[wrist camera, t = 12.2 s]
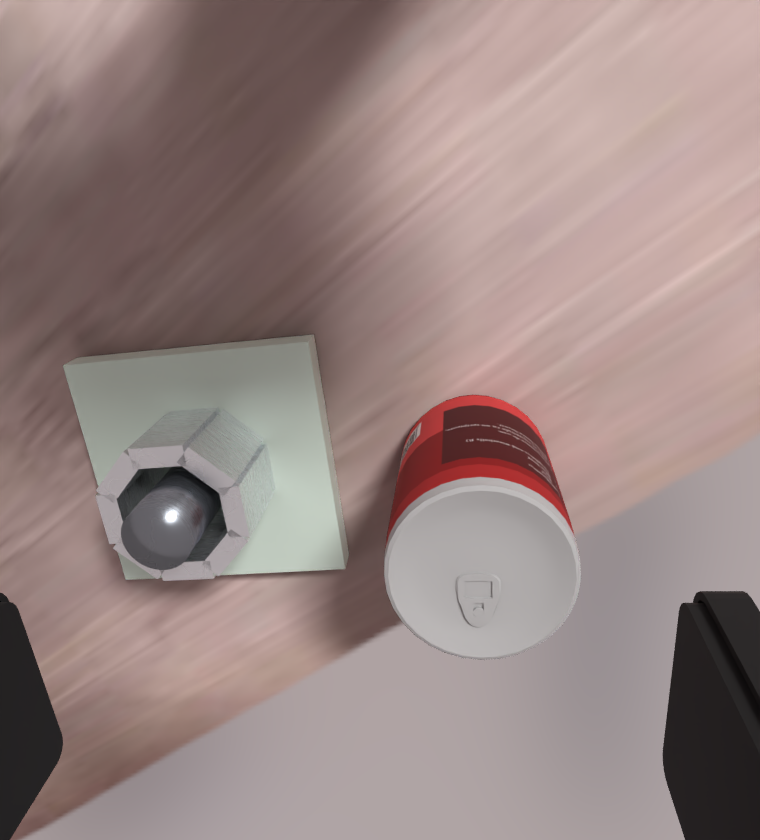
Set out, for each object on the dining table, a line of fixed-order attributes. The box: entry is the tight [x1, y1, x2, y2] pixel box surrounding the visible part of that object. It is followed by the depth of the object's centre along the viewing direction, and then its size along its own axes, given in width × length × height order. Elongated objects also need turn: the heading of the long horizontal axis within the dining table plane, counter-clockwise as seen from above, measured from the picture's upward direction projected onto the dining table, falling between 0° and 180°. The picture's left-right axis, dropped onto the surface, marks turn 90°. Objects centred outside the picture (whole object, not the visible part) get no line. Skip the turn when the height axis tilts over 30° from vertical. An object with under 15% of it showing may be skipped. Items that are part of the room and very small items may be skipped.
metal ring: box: [95, 407, 275, 581], centre depth 34 cm, size 7×7×5 cm
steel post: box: [121, 466, 222, 570], centre depth 33 cm, size 3×3×7 cm
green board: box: [63, 334, 349, 580], centre depth 37 cm, size 13×13×2 cm
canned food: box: [384, 395, 581, 660], centre depth 31 cm, size 8×8×11 cm
